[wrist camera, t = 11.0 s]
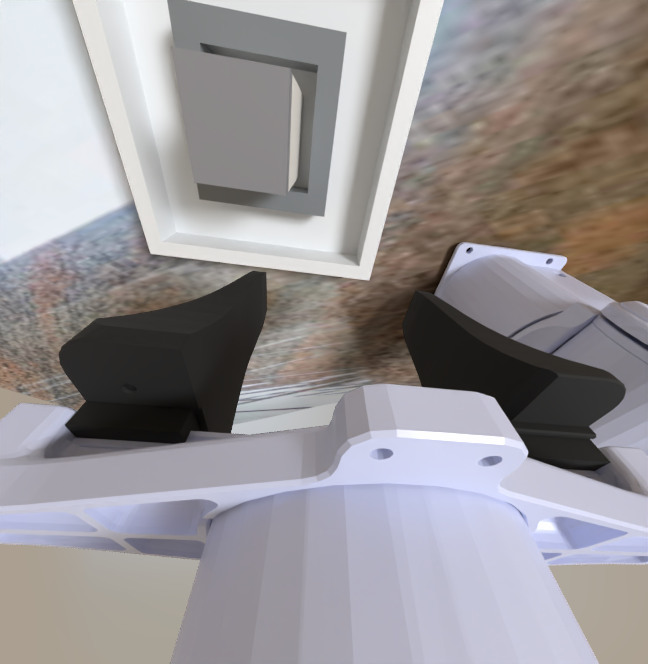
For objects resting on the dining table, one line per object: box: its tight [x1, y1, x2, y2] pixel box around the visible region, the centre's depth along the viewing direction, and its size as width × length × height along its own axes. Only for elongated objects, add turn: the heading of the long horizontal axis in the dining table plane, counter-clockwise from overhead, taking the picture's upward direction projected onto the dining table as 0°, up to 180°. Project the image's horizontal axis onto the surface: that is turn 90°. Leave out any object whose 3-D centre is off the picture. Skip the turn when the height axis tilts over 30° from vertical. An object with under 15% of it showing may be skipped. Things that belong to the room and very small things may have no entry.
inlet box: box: [72, 0, 444, 280], centre depth 15 cm, size 16×16×3 cm
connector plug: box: [171, 46, 303, 196], centre depth 12 cm, size 4×4×7 cm
